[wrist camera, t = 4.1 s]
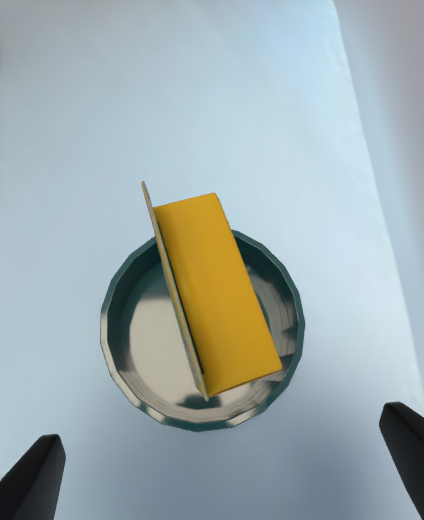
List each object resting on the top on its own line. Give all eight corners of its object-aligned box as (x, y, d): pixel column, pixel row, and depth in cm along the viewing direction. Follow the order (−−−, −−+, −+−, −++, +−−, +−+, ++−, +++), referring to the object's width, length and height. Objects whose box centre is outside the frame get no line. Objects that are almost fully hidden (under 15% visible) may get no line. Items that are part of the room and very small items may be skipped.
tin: (313, 297, 22) (334, 283, 18) (236, 461, 18) (245, 480, 15) (176, 220, 23) (173, 195, 20) (78, 357, 20) (55, 353, 16)
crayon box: (243, 374, 19) (306, 372, 9) (197, 391, 19) (201, 410, 8) (207, 267, 22) (221, 159, 11) (165, 280, 21) (136, 179, 10)
